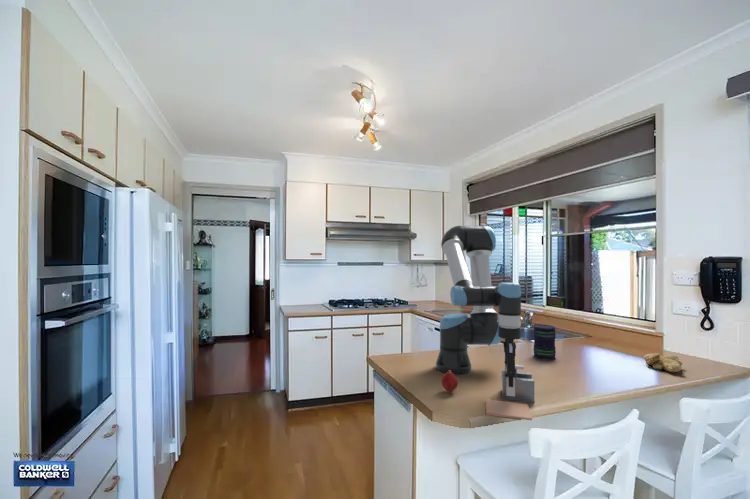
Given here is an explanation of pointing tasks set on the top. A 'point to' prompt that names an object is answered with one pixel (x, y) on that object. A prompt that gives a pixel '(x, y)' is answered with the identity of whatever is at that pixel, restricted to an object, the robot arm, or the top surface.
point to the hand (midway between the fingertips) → (509, 390)
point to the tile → (508, 409)
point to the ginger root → (664, 362)
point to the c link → (520, 387)
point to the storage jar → (544, 342)
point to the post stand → (516, 368)
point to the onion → (449, 381)
